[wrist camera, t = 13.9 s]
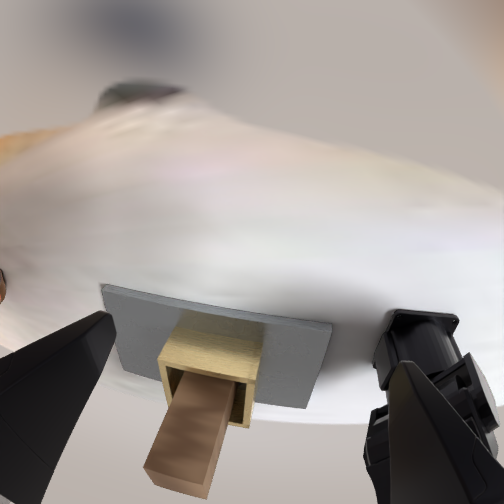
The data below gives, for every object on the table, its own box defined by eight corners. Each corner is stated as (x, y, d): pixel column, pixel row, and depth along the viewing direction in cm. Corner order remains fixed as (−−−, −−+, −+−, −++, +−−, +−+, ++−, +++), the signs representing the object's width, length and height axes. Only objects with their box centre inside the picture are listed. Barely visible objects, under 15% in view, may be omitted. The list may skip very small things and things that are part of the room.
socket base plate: (331, 323, 23) (333, 369, 19) (306, 401, 29) (303, 441, 24) (106, 284, 26) (77, 316, 21) (127, 364, 31) (108, 395, 26)
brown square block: (240, 353, 25) (202, 485, 14) (239, 381, 27) (206, 499, 16) (196, 345, 26) (142, 467, 15) (198, 373, 28) (154, 484, 17)
